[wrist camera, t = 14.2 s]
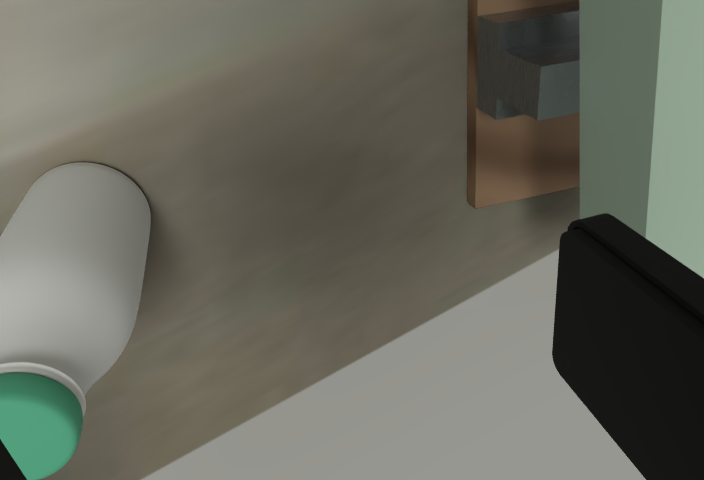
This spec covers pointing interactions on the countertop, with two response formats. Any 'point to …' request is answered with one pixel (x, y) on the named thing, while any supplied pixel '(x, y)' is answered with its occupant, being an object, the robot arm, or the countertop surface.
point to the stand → (522, 99)
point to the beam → (644, 120)
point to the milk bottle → (65, 304)
